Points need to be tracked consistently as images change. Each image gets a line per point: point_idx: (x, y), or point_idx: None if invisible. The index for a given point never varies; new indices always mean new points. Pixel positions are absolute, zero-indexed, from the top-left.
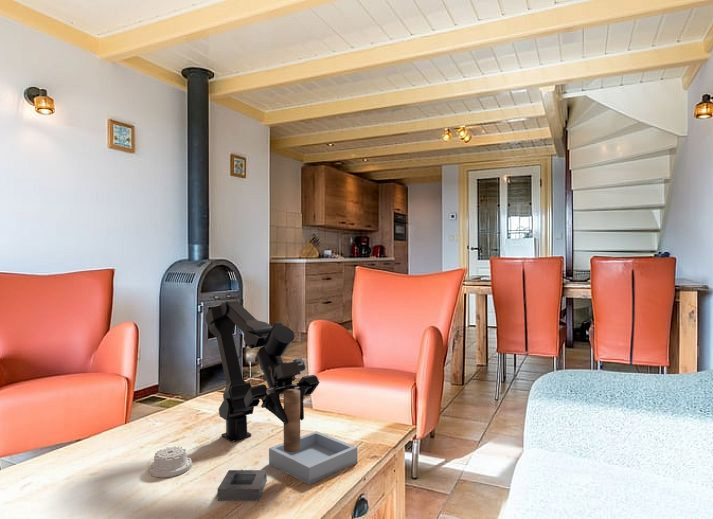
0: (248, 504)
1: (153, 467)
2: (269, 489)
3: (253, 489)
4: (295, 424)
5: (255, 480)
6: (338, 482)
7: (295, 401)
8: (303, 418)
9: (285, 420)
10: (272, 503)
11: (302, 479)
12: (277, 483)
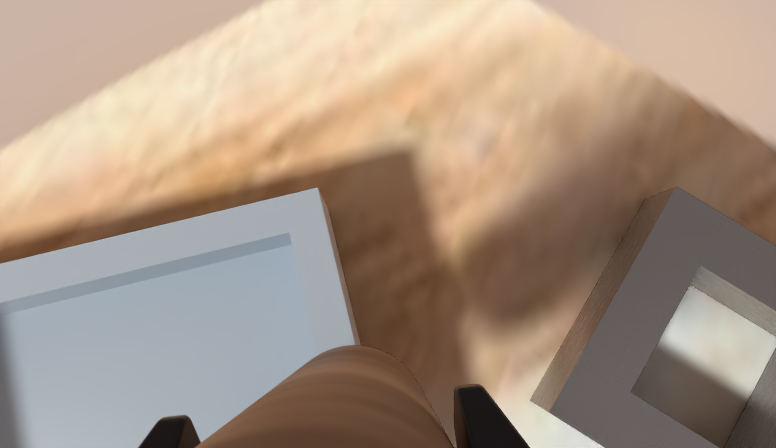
0: (705, 190)
1: None
2: (552, 285)
3: (703, 204)
4: (337, 367)
5: (662, 305)
6: (166, 143)
7: (284, 440)
8: (171, 417)
9: (498, 407)
10: (588, 131)
11: (342, 270)
12: (484, 329)
